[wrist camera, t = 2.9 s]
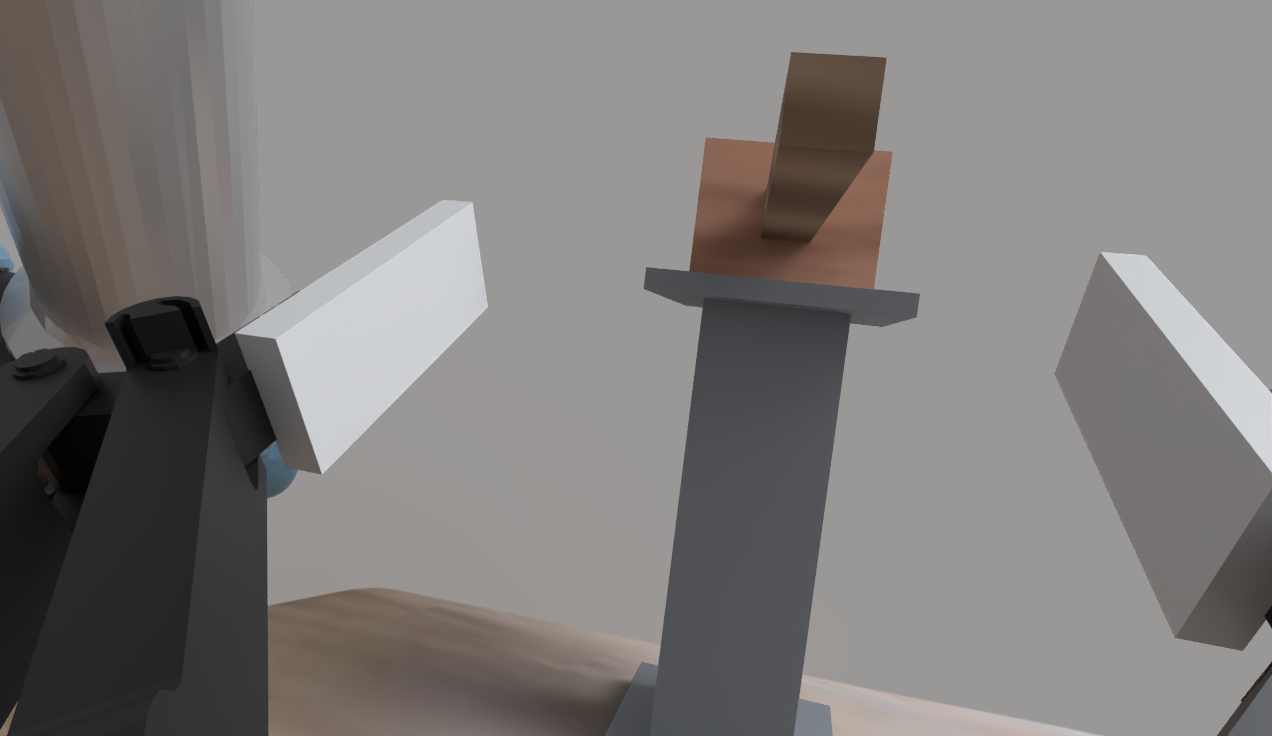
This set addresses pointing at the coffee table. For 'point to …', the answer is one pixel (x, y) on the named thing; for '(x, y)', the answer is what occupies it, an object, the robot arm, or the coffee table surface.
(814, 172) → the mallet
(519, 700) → the coffee table surface
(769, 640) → the plinth
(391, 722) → the coffee table surface
